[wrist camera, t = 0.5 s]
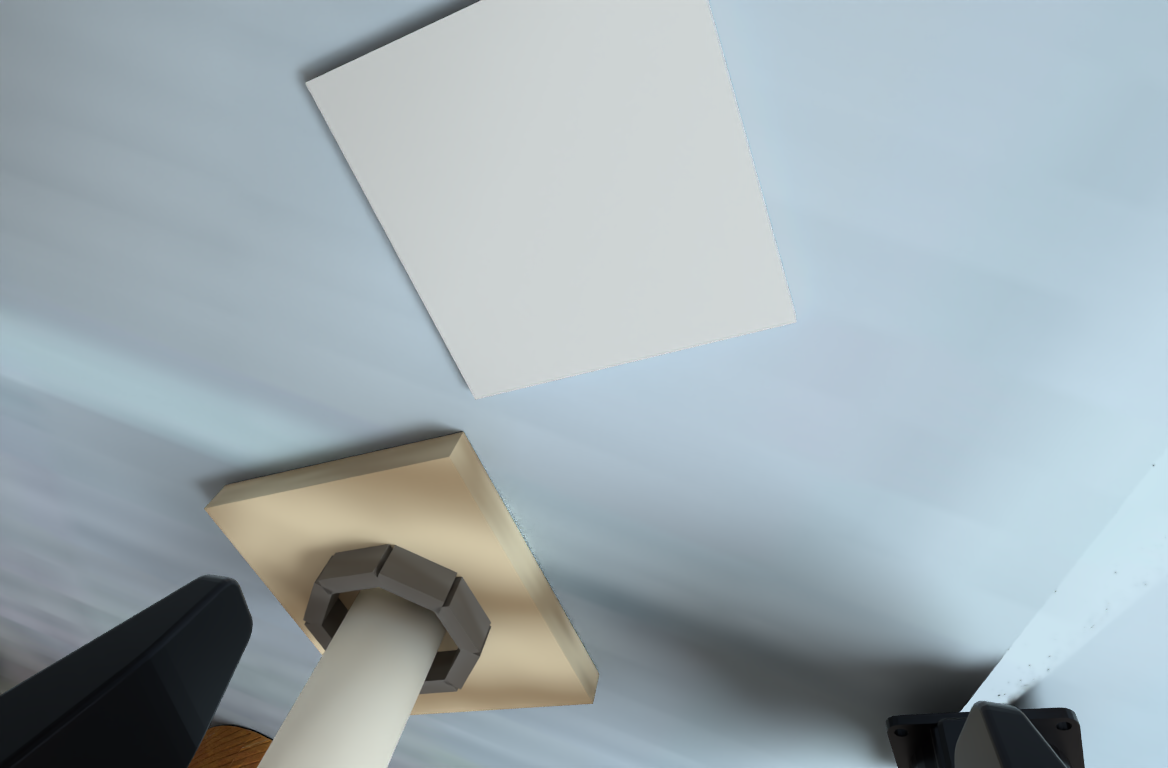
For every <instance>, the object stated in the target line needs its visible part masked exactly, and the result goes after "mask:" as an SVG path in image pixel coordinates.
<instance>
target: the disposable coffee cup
mask: <svg viewBox="0 0 1168 768" xmlns="http://www.w3.org/2000/svg"><path fill="white" fill-rule="evenodd" d="M271 743H272V740H270V739H268V738H266V737H264V736H262V735H260V734H258V733H256V732H254V731H251V730H247V729H243V728H240V727H235V726H216V727H212V728H210V729H208V730H207V732H206V734H205V736H204V738H203V740H202V742H201V744H200V746H199V748H198V750H197V751H196V753H195V755H194V757H193V759H192V760H191V762H190V764H189V766H188V768H257V767H258V765H259V763H260V762H261V760H262V758H263V757H264V755H265V753H266V751H267V750H268V748H269V746H270V745H271Z"/></svg>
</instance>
